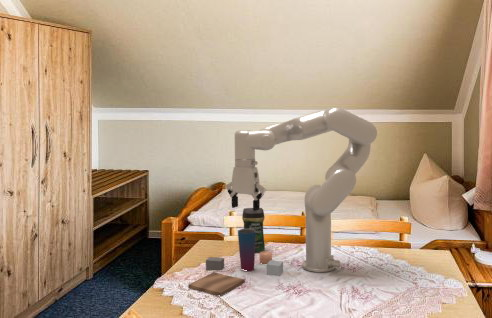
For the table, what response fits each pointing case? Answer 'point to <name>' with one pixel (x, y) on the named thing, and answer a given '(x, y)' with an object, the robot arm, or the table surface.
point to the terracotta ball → (265, 257)
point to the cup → (247, 248)
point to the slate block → (274, 268)
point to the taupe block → (214, 263)
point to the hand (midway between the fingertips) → (245, 208)
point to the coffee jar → (255, 225)
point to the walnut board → (216, 283)
